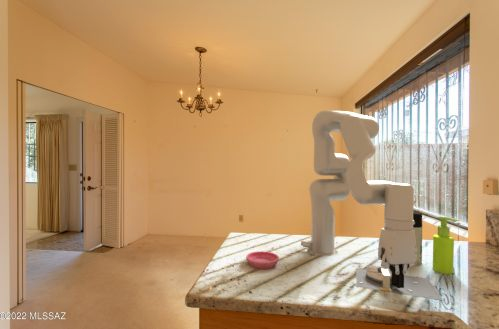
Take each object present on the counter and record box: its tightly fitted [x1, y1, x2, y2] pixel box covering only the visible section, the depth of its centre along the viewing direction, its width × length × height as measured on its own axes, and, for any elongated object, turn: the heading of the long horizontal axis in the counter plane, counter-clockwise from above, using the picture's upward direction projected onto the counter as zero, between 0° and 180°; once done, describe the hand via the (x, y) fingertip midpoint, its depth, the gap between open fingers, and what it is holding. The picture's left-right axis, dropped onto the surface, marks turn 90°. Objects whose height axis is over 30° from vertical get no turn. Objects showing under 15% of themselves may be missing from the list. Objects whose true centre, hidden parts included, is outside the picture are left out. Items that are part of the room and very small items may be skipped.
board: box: [355, 268, 443, 301], centre depth 86 cm, size 22×17×1 cm
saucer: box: [245, 250, 280, 270], centre depth 103 cm, size 12×12×3 cm
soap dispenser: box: [432, 216, 459, 275], centre depth 95 cm, size 6×7×20 cm
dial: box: [365, 265, 392, 289], centre depth 87 cm, size 14×10×4 cm
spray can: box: [413, 211, 423, 266], centre depth 104 cm, size 7×7×20 cm
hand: (397, 285), depth 81 cm, fingers closed
